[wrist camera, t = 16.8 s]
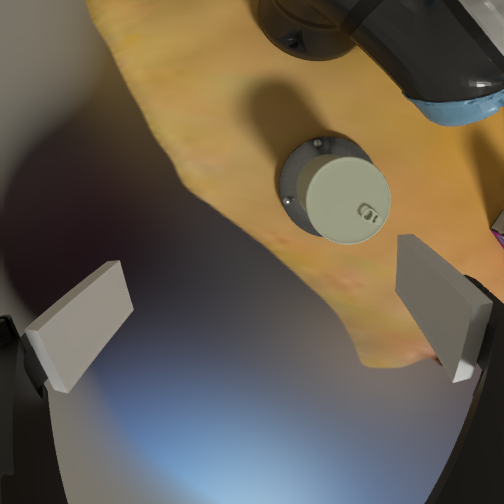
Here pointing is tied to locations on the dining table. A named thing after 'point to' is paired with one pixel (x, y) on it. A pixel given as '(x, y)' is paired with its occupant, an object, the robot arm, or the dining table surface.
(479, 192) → the dining table surface
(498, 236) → the candy bar box
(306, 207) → the can
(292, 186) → the flange plate
